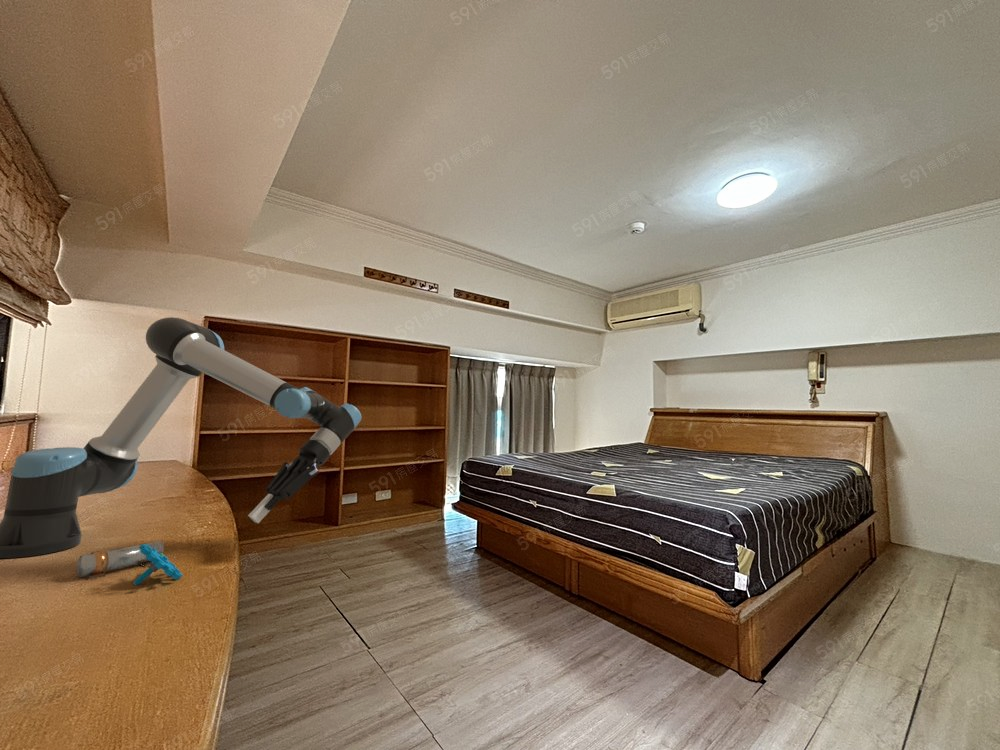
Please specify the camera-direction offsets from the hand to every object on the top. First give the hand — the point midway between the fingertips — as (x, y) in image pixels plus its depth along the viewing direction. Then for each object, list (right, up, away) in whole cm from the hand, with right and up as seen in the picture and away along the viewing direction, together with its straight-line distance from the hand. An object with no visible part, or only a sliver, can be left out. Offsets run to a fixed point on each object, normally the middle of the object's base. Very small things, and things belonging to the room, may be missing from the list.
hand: (253, 519), depth 97 cm
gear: (-10, -7, -16) cm, 20 cm away
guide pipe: (-22, -7, -11) cm, 25 cm away
